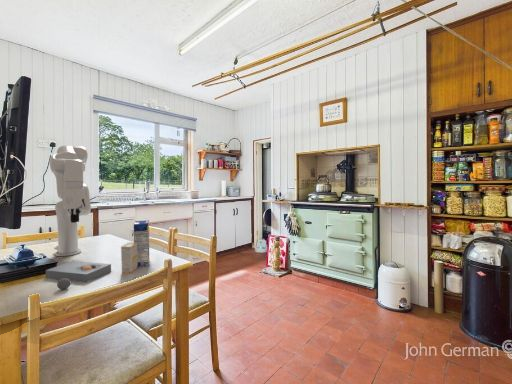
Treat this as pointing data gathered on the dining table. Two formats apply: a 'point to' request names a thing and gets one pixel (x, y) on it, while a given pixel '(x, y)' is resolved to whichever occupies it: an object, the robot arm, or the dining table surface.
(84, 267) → the ball
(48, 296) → the dining table surface
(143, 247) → the beverage box
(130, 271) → the supplement box
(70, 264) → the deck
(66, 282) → the ball
